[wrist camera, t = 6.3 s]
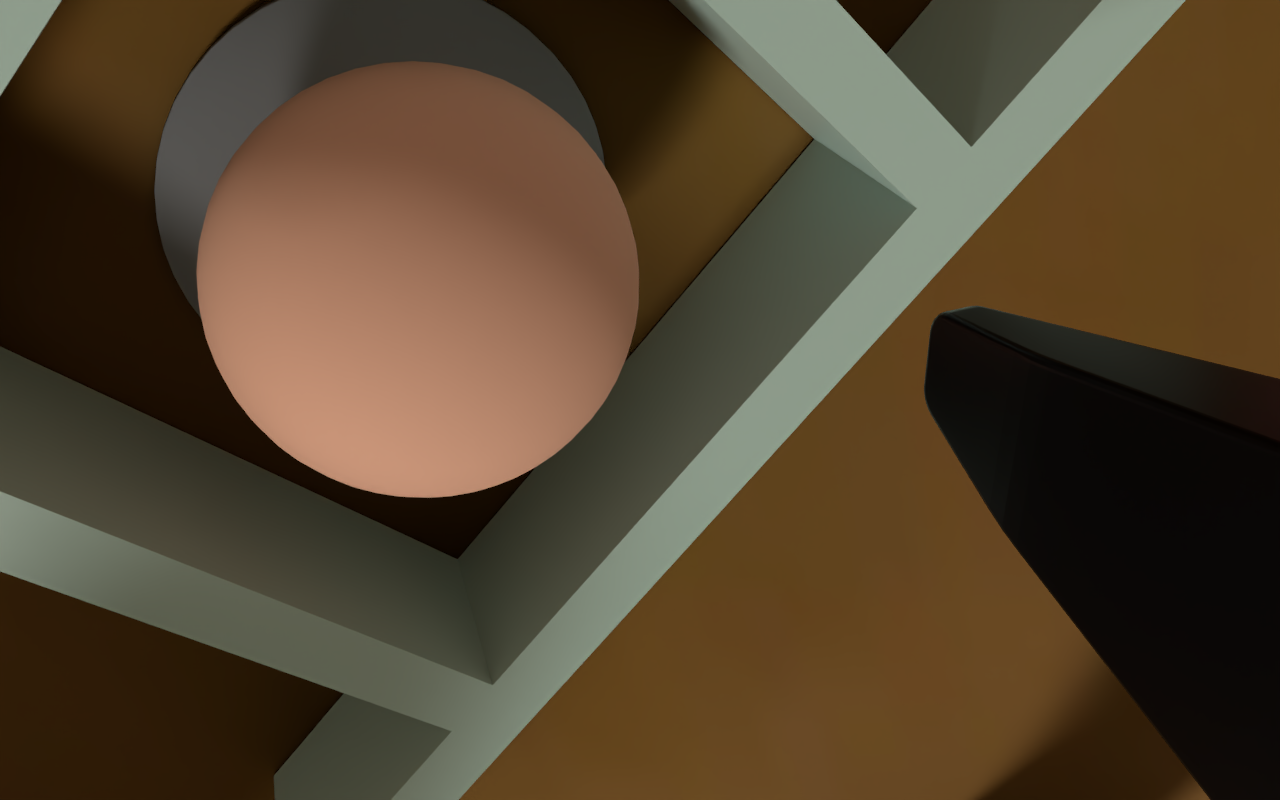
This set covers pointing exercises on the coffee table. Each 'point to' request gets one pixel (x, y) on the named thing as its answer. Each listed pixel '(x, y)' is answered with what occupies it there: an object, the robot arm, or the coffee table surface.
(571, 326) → the ball
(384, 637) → the sage green shelf frame
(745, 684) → the coffee table surface
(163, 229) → the gray disc
